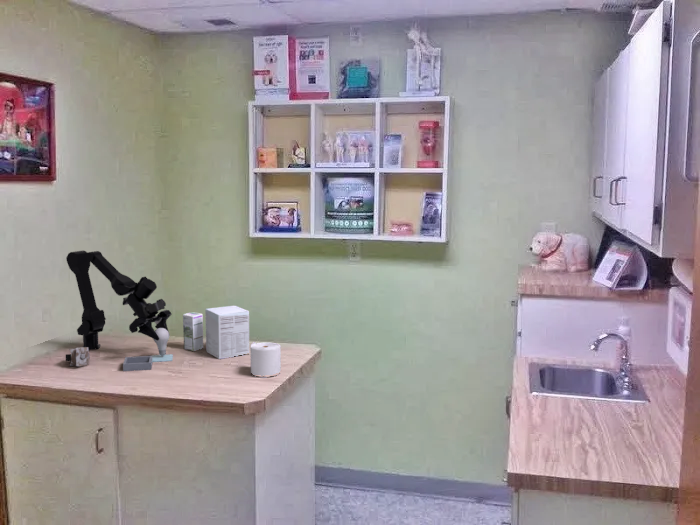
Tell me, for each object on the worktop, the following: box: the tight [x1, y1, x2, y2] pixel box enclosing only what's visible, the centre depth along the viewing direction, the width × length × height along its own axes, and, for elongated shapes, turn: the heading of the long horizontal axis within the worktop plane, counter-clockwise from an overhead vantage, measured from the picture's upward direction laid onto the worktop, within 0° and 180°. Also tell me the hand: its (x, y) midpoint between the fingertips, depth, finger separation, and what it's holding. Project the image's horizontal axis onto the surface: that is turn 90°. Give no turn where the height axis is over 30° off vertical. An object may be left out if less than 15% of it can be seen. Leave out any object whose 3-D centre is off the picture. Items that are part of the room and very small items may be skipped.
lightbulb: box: [152, 328, 170, 356], centre depth 257 cm, size 6×6×11 cm
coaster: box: [150, 353, 174, 363], centre depth 257 cm, size 8×8×1 cm
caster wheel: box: [65, 346, 91, 367], centre depth 249 cm, size 7×11×10 cm
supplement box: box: [205, 305, 250, 360], centre depth 265 cm, size 13×13×18 cm
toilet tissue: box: [249, 341, 282, 376], centre depth 240 cm, size 11×12×10 cm
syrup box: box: [182, 311, 204, 352], centre depth 271 cm, size 6×6×14 cm
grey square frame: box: [122, 355, 153, 372], centre depth 247 cm, size 10×10×2 cm
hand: (163, 338), depth 256 cm, fingers closed on lightbulb, 6 cm apart
